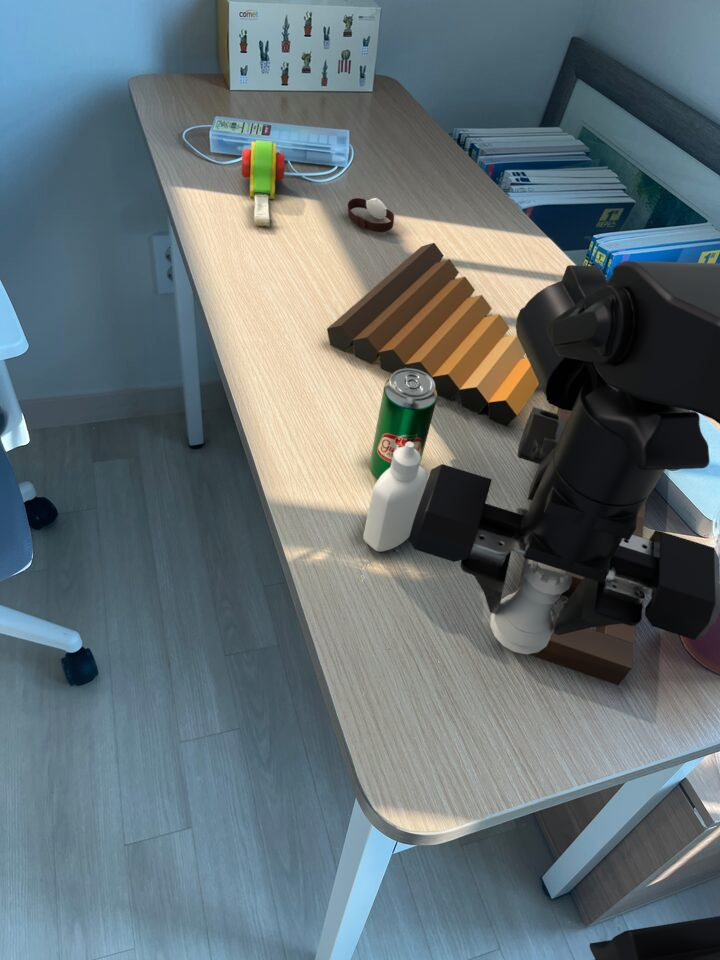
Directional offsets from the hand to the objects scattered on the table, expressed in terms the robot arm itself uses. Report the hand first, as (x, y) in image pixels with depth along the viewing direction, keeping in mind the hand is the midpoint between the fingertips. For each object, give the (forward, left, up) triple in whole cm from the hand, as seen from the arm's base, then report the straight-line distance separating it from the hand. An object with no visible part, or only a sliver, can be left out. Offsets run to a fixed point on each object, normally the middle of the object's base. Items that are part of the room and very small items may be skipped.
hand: (525, 618), depth 54 cm
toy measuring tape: (+68, +49, -12) cm, 85 cm away
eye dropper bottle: (+13, +12, -12) cm, 22 cm away
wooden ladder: (+25, -6, -12) cm, 28 cm away
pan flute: (+48, +13, -12) cm, 51 cm away
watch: (+69, +32, -12) cm, 77 cm away
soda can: (+21, +14, -12) cm, 28 cm away
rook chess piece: (0, 0, -2) cm, 2 cm away
